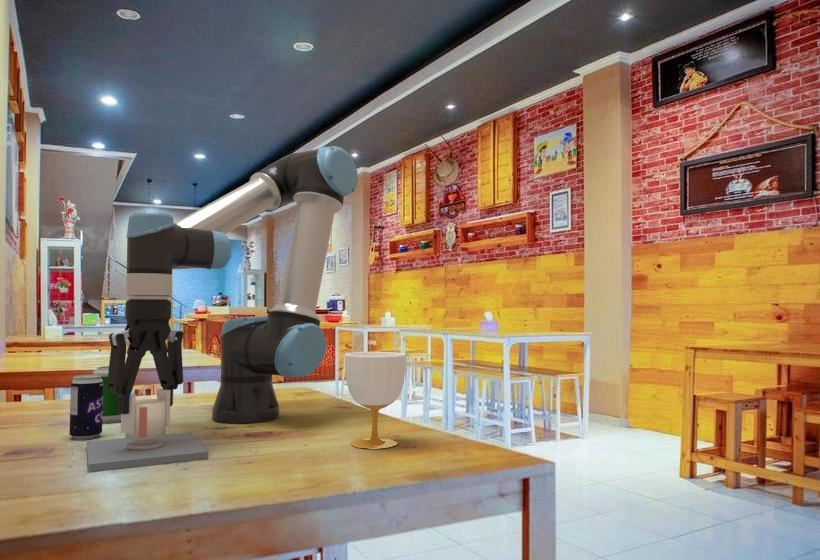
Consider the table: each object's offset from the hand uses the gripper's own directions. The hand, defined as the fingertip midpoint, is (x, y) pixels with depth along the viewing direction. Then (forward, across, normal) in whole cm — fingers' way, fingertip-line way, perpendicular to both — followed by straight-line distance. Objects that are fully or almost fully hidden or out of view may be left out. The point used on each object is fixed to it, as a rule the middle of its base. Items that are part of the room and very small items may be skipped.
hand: (145, 428), depth 107 cm
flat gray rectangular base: (+4, 0, 0) cm, 4 cm away
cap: (+1, 0, 0) cm, 1 cm away
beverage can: (+4, -2, -21) cm, 21 cm away
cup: (+4, -27, +31) cm, 41 cm away
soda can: (+4, -16, -33) cm, 36 cm away
